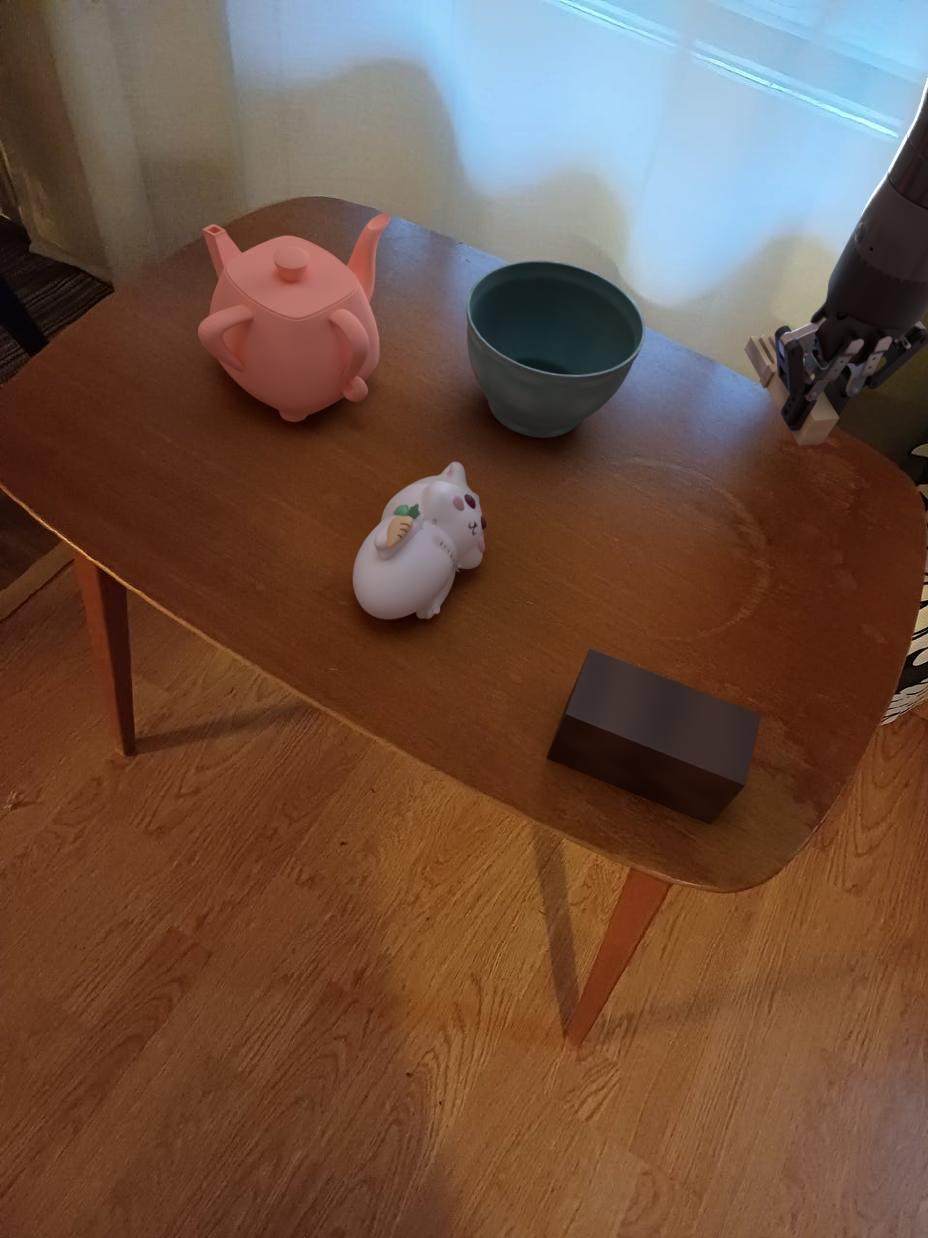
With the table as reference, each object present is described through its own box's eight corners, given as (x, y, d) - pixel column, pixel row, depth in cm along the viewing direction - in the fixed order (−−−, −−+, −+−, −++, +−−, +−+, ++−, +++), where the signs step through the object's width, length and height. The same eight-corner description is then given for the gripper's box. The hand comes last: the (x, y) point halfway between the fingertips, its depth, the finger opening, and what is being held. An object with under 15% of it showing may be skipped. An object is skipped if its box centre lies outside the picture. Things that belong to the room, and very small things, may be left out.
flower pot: (478, 333, 96) (493, 240, 87) (628, 376, 95) (659, 286, 86) (433, 436, 87) (444, 344, 78) (598, 485, 86) (628, 397, 77)
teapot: (214, 319, 93) (199, 193, 82) (383, 323, 96) (390, 202, 84) (207, 435, 84) (189, 311, 73) (393, 436, 87) (403, 318, 76)
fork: (825, 443, 81) (842, 417, 78) (795, 446, 80) (812, 420, 78) (770, 347, 87) (784, 320, 84) (741, 349, 86) (755, 322, 84)
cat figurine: (377, 572, 66) (479, 433, 72) (302, 560, 71) (404, 430, 77) (433, 655, 72) (523, 520, 79) (361, 639, 77) (451, 512, 84)
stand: (727, 757, 72) (761, 714, 66) (711, 824, 68) (745, 785, 62) (569, 694, 73) (589, 647, 67) (546, 757, 70) (565, 713, 64)
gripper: (845, 284, 63) (752, 461, 78) (1012, 272, 67) (894, 444, 81) (797, 219, 67) (717, 400, 81) (957, 211, 71) (853, 386, 85)
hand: (805, 421), depth 81 cm, fingers closed on fork, 2 cm apart
